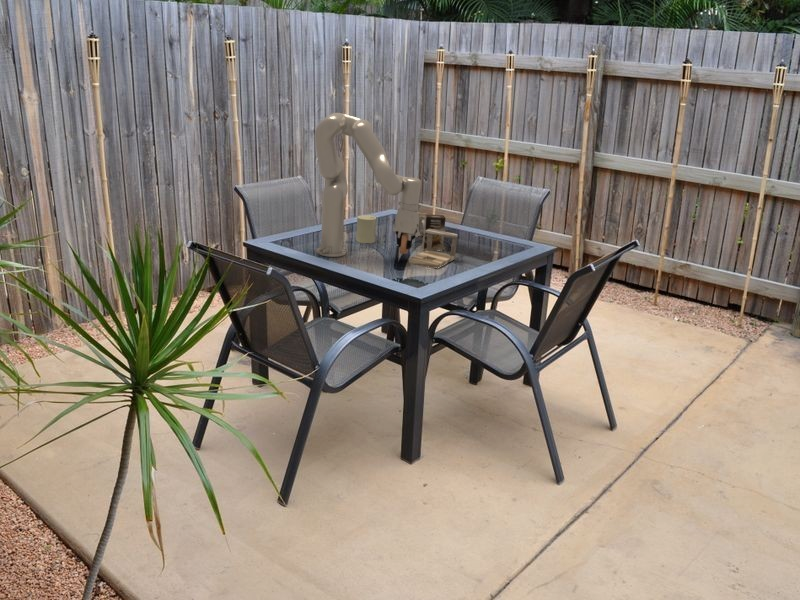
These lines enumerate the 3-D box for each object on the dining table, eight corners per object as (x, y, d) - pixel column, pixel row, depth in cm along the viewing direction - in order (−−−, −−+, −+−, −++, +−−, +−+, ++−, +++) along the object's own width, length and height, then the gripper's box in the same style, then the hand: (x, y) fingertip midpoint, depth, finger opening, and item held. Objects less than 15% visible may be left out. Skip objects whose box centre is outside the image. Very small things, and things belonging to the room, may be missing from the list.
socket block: (437, 269, 313) (440, 242, 309) (408, 262, 319) (410, 236, 315) (455, 260, 328) (457, 234, 324) (427, 254, 334) (429, 228, 330)
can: (374, 244, 344) (376, 219, 340) (355, 242, 344) (356, 217, 340) (375, 239, 352) (377, 214, 349) (356, 237, 352) (357, 213, 348)
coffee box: (423, 250, 339) (426, 216, 333) (421, 247, 345) (424, 213, 339) (442, 251, 340) (445, 217, 334) (440, 248, 346) (443, 214, 340)
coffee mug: (408, 231, 372) (410, 211, 369) (428, 232, 373) (429, 213, 370) (410, 237, 360) (411, 218, 356) (430, 239, 360) (432, 219, 357)
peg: (405, 254, 319) (407, 236, 317) (398, 252, 321) (400, 234, 318) (408, 252, 322) (411, 235, 320) (402, 251, 324) (404, 233, 321)
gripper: (388, 204, 315) (383, 244, 321) (422, 211, 308) (417, 253, 314) (396, 201, 321) (392, 242, 327) (430, 209, 314) (424, 250, 320)
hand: (404, 247), depth 321 cm, fingers closed on peg, 3 cm apart
